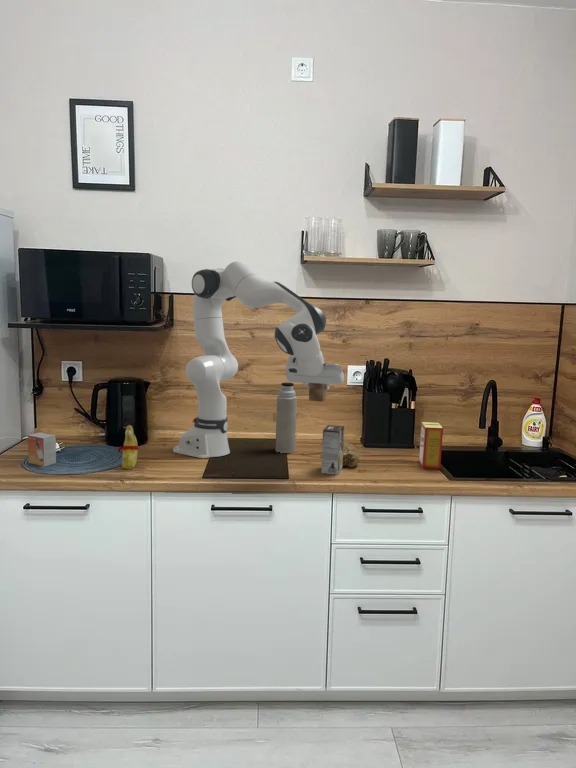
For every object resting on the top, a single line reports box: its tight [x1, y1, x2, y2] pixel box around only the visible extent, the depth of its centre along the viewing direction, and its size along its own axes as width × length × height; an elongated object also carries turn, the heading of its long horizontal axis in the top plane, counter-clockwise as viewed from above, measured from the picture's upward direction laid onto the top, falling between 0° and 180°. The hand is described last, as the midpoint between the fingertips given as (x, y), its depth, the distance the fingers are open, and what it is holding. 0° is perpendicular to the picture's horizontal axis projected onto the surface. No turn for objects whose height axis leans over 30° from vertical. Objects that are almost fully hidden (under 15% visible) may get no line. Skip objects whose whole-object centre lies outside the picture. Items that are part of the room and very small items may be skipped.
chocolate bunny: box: [116, 424, 139, 470], centre depth 208 cm, size 7×11×15 cm, turn 4°
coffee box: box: [320, 424, 345, 476], centre depth 209 cm, size 9×6×16 cm
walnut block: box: [308, 383, 327, 403], centre depth 206 cm, size 5×5×8 cm
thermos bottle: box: [275, 382, 298, 454], centre depth 232 cm, size 8×8×28 cm
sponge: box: [343, 441, 360, 468], centre depth 224 cm, size 13×8×20 cm
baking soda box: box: [418, 421, 444, 470], centre depth 221 cm, size 10×6×16 cm
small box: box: [27, 432, 57, 467], centre depth 208 cm, size 8×6×10 cm
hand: (318, 387), depth 207 cm, fingers closed on walnut block, 5 cm apart
